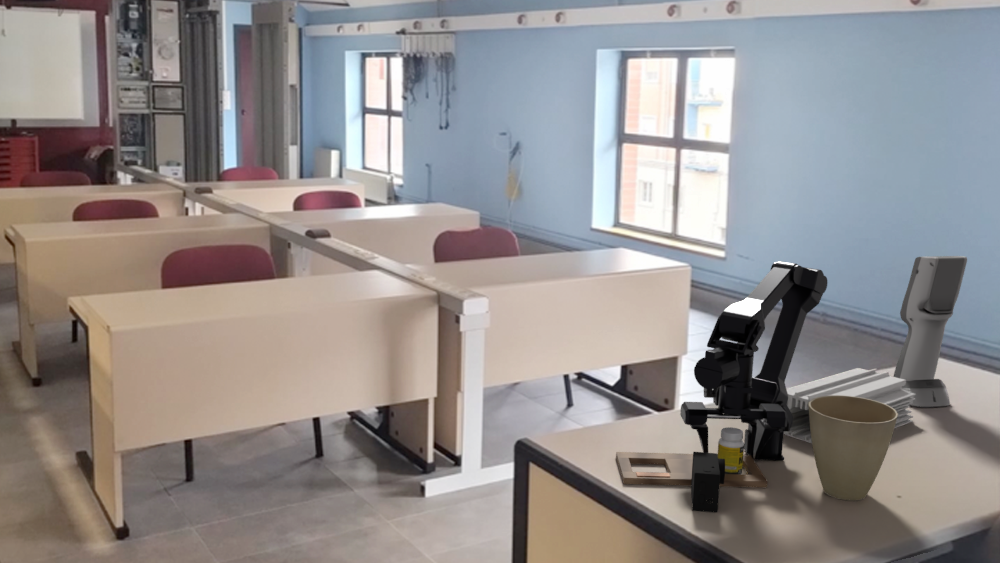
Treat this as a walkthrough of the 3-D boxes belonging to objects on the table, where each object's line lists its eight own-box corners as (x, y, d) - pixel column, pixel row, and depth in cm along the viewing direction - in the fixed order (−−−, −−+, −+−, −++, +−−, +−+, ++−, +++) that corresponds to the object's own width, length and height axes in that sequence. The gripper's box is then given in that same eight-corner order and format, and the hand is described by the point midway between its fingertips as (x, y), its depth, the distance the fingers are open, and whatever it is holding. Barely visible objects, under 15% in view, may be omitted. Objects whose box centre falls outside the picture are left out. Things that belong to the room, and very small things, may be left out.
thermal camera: (912, 409, 229) (929, 257, 222) (879, 392, 241) (894, 248, 235) (957, 406, 232) (975, 257, 225) (922, 390, 244) (938, 247, 237)
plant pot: (784, 482, 185) (791, 399, 181) (849, 473, 190) (857, 392, 187) (838, 515, 171) (846, 425, 168) (907, 504, 176) (916, 417, 173)
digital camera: (724, 514, 170) (727, 475, 169) (692, 511, 171) (694, 472, 170) (721, 490, 181) (724, 453, 179) (690, 487, 181) (693, 450, 180)
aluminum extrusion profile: (912, 422, 221) (917, 379, 219) (834, 452, 202) (838, 404, 200) (854, 406, 231) (858, 364, 230) (774, 432, 212) (777, 387, 210)
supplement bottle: (742, 479, 186) (745, 436, 184) (716, 476, 186) (719, 433, 185) (741, 469, 190) (744, 427, 189) (716, 467, 191) (719, 425, 189)
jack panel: (750, 461, 195) (750, 454, 194) (767, 487, 182) (767, 480, 182) (615, 457, 195) (616, 450, 194) (623, 484, 182) (623, 476, 182)
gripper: (775, 366, 193) (769, 444, 196) (677, 364, 193) (673, 441, 196) (791, 383, 182) (784, 465, 185) (688, 381, 182) (683, 463, 185)
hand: (730, 458), depth 188 cm, fingers open, 9 cm apart
